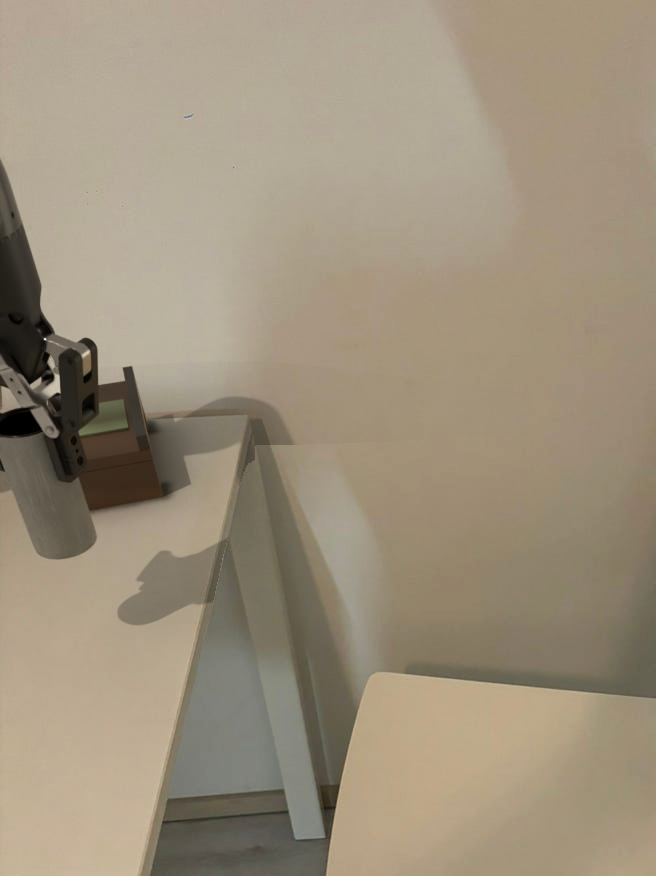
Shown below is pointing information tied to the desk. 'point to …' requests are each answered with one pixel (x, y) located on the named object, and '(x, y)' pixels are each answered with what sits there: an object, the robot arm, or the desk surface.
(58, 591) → the desk surface
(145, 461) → the brown wooden box
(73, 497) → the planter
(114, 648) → the desk surface
